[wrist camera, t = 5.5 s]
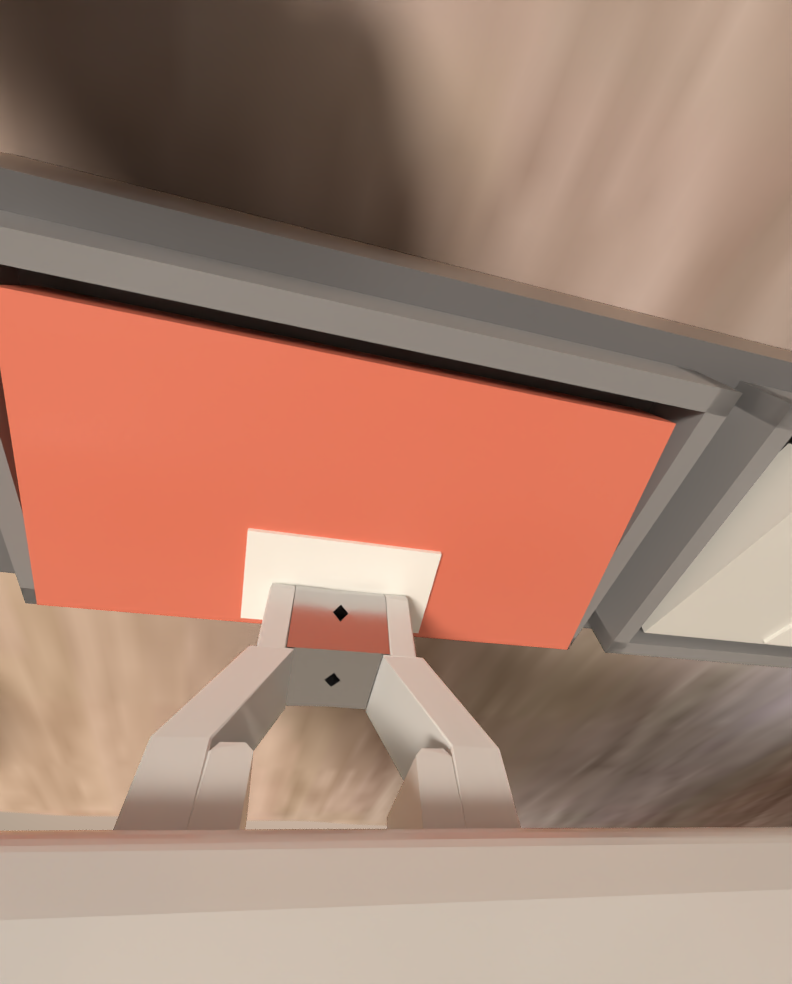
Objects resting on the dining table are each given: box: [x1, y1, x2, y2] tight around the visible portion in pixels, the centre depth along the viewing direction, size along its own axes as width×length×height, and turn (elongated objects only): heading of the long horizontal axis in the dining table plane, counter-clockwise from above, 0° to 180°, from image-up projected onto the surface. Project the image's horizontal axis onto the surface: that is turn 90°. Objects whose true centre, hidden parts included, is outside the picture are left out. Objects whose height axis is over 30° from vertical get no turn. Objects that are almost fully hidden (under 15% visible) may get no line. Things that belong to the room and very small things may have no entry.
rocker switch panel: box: [0, 152, 792, 668], centre depth 13 cm, size 9×38×5 cm, turn 77°
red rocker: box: [0, 285, 676, 649], centre depth 9 cm, size 6×12×1 cm, turn 78°
